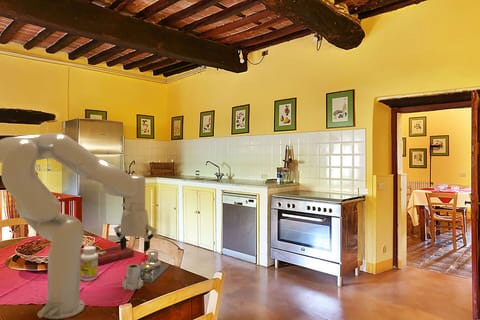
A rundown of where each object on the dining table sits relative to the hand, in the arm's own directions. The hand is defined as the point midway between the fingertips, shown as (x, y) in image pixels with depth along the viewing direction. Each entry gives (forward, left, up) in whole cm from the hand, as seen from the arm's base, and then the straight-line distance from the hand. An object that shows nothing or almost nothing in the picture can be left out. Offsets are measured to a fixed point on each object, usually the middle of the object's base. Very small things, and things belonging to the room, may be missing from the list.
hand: (135, 249), depth 133 cm
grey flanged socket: (-1, 0, -15) cm, 15 cm away
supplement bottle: (+3, +21, -15) cm, 26 cm away
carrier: (+14, 0, -15) cm, 20 cm away
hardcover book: (+28, +26, -15) cm, 41 cm away
